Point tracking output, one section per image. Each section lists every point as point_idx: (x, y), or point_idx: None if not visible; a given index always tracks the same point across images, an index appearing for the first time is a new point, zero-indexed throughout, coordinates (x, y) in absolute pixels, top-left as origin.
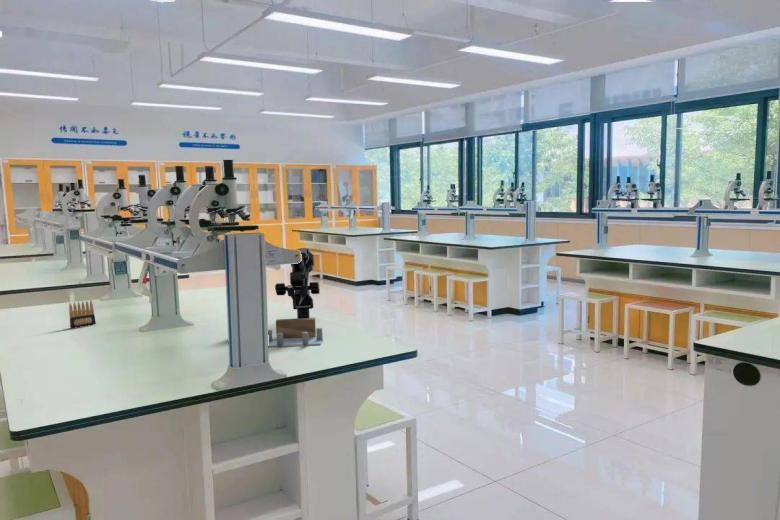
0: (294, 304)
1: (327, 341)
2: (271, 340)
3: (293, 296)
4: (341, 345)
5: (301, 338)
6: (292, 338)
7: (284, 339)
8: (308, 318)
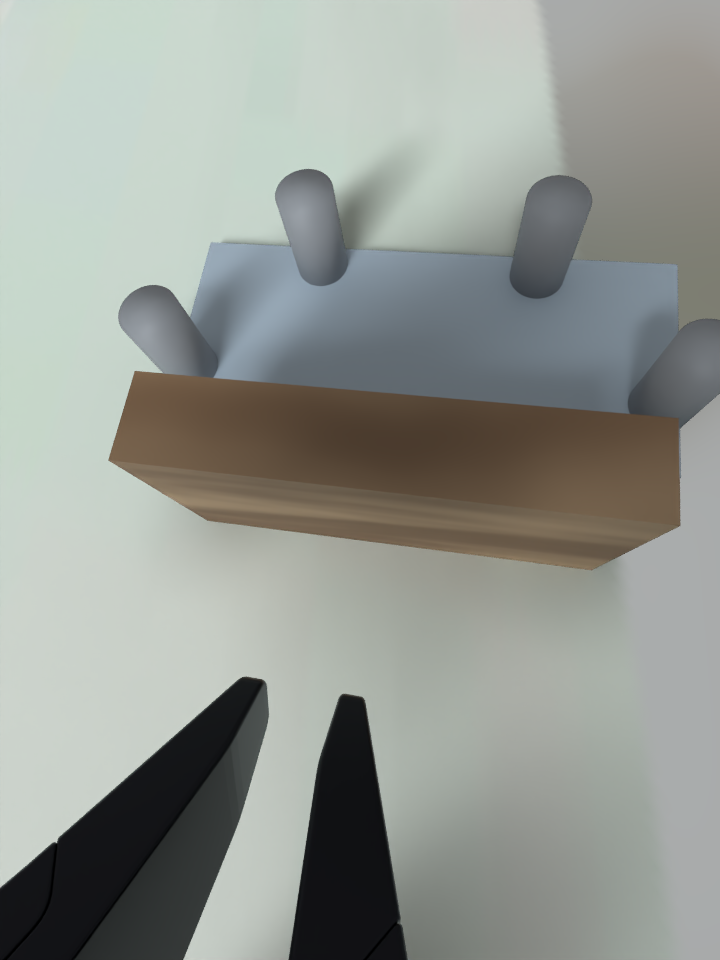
0: (356, 698)
1: None
2: (638, 382)
3: (338, 945)
4: (78, 217)
5: None
6: None
7: None
8: (197, 452)
